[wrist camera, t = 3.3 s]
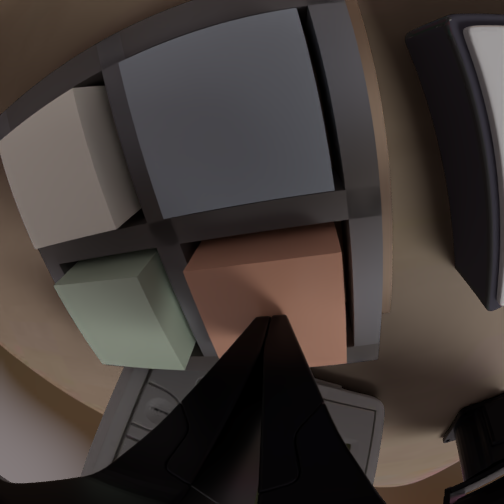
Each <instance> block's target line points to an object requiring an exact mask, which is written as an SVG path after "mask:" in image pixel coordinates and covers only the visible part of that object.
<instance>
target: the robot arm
mask: <svg viewBox="0 0 504 504" xmlns="http://www.w3.org/2000/svg"><path fill="white" fill-rule="evenodd" d="M181 403H182V404H181ZM181 403H179V404H178V405H177V406H176V407H175V408H174V409H173V410H172V411H171V412H170V413H169V414H168V415H167V416H166V417H165V418H164V419H163V420H162V421H161V422H160V423H159V424H158V425H157V426H156V427H155V428H154V429H153V430H151V431H150V432H149V433H148V434H147V435H146V436H145V437H143V438H142V439H141V440H140V441H139V442H137V443H136V444H135V445H134V446H132V447H131V448H130V449H129V450H127V451H126V452H125V453H124V454H122V455H121V456H120V457H118V458H117V459H116V460H115V461H113V462H112V463H111V464H109V465H108V466H107V467H105V468H103V469H102V470H100V471H98V472H96V473H93V474H90V475H87V476H82V477H77V478H70V479H63V480H55V481H46V482H36V483H11V482H9V481H8V480H6V479H5V478H3V477H2V476H0V504H254V503H255V498H256V494H257V489H258V493H259V495H258V503H257V504H386V502H385V501H384V500H383V499H382V497H381V496H380V495H379V493H378V492H377V491H376V489H375V488H374V486H373V485H372V483H371V482H370V480H369V479H368V477H367V476H366V474H365V473H364V471H363V470H362V468H361V467H360V465H359V464H358V462H357V461H356V459H355V458H354V456H353V455H352V453H351V452H350V450H349V449H348V447H347V445H346V444H345V442H344V440H343V439H342V437H341V435H340V433H339V432H338V430H337V428H336V426H335V423H334V421H333V419H332V417H331V415H330V413H329V410H328V408H327V406H326V404H325V403H324V399H323V397H322V395H321V392H320V390H319V388H318V385H317V383H316V381H315V379H314V376H313V374H312V372H311V369H310V367H309V365H308V363H307V360H306V358H305V356H304V353H303V351H302V349H301V347H300V344H299V342H298V340H297V337H296V335H295V333H294V331H293V328H292V326H291V324H290V322H289V319H288V317H287V315H285V314H283V315H273V316H272V317H270V316H260V317H256V318H255V319H254V320H253V321H252V322H251V323H250V324H249V326H248V327H247V328H246V329H245V330H244V331H243V333H242V334H241V335H240V336H239V337H238V338H237V339H236V341H235V342H234V343H233V344H232V345H231V346H230V347H229V349H228V350H227V351H226V352H225V353H224V354H223V355H222V357H221V358H220V359H219V360H218V361H217V362H216V363H215V364H214V366H213V367H212V368H211V369H210V370H209V371H208V372H207V373H206V374H205V376H204V377H203V378H202V379H201V380H200V381H199V382H198V383H197V384H196V385H195V386H194V388H193V389H192V390H191V391H190V392H189V393H188V394H187V395H186V396H185V397H184V398H183V399H182V401H181ZM454 440H456V444H457V449H458V454H459V459H460V464H461V469H462V474H463V481H464V482H462V483H460V484H458V485H455V486H453V487H449V488H447V489H445V496H444V502H443V504H504V476H503V477H501V478H499V479H497V480H496V481H494V482H492V483H490V484H488V485H486V486H484V487H482V488H480V489H478V490H476V491H474V492H472V493H470V494H467V495H465V493H467V492H469V491H471V490H473V489H475V488H478V487H479V486H482V485H484V484H485V483H488V482H489V481H491V480H493V479H495V478H497V477H499V476H500V475H502V474H504V394H503V395H500V396H498V397H495V398H492V399H490V400H487V401H484V402H481V403H478V404H475V405H472V406H469V407H466V408H464V409H462V410H461V411H460V412H459V414H458V416H457V417H456V419H455V420H454V422H453V424H452V425H451V427H450V428H449V430H448V432H447V433H446V435H445V436H444V438H443V443H447V442H450V441H454Z"/></svg>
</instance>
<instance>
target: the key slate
mask: <svg viewBox="0 0 504 504" xmlns="http://www.w3.org/2000/svg"><path fill="white" fill-rule="evenodd" d="M119 68H120V72H121V76H122V80H123V84H124V89H125V92H126V96H127V100H128V104H129V108H130V112H131V115H132V119H133V123H134V126H135V130H136V133H137V137H138V140H139V144H140V147H141V151H142V154H143V157H144V160H145V164H146V167H147V170H148V173H149V177H150V180H151V183H152V186H153V189H154V192H155V195H156V198H157V201H158V204H159V207H160V210H161V213H162V216H163V219H167V218H172V217H177V216H182V215H187V214H193V213H198V212H203V211H209V210H214V209H220V208H225V207H231V206H237V205H242V204H248V203H254V202H260V201H267V200H273V199H279V198H286V197H292V196H299V195H306V194H313V193H320V192H327V191H335V189H334V182H333V175H332V168H331V161H330V155H329V149H328V143H327V137H326V132H325V126H324V121H323V116H322V110H321V105H320V101H319V96H318V91H317V86H316V82H315V77H314V73H313V69H312V65H311V60H310V56H309V52H308V48H307V44H306V41H305V37H304V33H303V29H302V26H301V22H300V19H299V15H298V12H297V9H296V8H291V9H285V10H279V11H273V12H268V13H263V14H258V15H253V16H249V17H244V18H240V19H236V20H232V21H228V22H225V23H221V24H218V25H214V26H211V27H207V28H204V29H201V30H198V31H195V32H192V33H189V34H186V35H183V36H180V37H177V38H175V39H172V40H169V41H167V42H164V43H162V44H159V45H157V46H154V47H152V48H150V49H147V50H145V51H143V52H140V53H138V54H136V55H134V56H131V57H129V58H127V59H125V60H123V61H121V62H119Z"/></svg>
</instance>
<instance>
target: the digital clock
mask: <svg viewBox="0 0 504 504" xmlns="http://www.w3.org/2000/svg"><path fill="white" fill-rule="evenodd" d="M207 372H208V371H182V370H161V369H146V368H134V367H124V368H123V371H122V373H121V375H120V377H119V380H118V382H117V384H116V387H115V389H114V391H113V393H112V396H111V398H110V401H109V403H108V405H107V408H106V410H105V412H104V415H103V417H102V420H101V423H100V425H99V428H98V430H97V432H96V435H95V437H94V440H93V443H92V445H91V448H90V450H89V453H88V456H87V458H86V461H85V465H84V468H83V471H82V474H81V477H82V476H87V475H90V474H93V473H96V472H98V471H100V470H102V469H103V468H105V467H107V466H108V465H109V464H111V463H112V462H113V461H115V460H116V459H117V458H118V457H120V456H121V455H122V454H124V453H125V452H126V451H127V450H129V449H130V448H131V447H132V446H134V445H135V444H136V443H137V442H139V441H140V440H141V439H142V438H143V437H145V436H146V435H147V434H148V433H149V432H150V431H151V430H153V429H154V428H155V427H156V426H157V425H158V424H159V423H160V422H161V421H162V420H163V419H164V418H165V417H166V416H167V415H168V414H169V413H170V412H171V411H172V410H173V409H174V408H175V407H176V406H177V405H178V404H179V403H181V401H182V399H183V398H184V397H185V396H186V395H187V394H188V393H189V392H190V391H191V390H192V389H193V388H194V386H195V385H196V384H197V383H198V382H199V381H200V380H201V379H202V378H203V377H204V376H205V374H206V373H207ZM314 379H315V381H316V383H317V385H318V388H319V390H320V392H321V395H322V397H323V399H324V403H325V404H326V406H327V408H328V410H329V413H330V415H331V417H332V419H333V421H334V423H335V426H336V428H337V430H338V432H339V433H340V435H341V437H342V439H343V440H344V442H345V444H346V445H347V447H348V449H349V450H350V452H351V453H352V455H353V456H354V458H355V459H356V461H357V462H358V464H359V465H360V467H361V468H362V470H363V471H364V473H365V474H366V476H367V477H368V479H369V480H370V482H371V483H372V485H373V482H374V477H375V473H376V468H377V462H378V457H379V451H380V445H381V439H382V432H383V425H384V406H383V403H382V402H381V401H380V400H379V399H377V398H376V397H373V396H370V395H365V394H361V393H357V392H353V391H349V390H345V389H342V386H341V385H337V384H333V383H330V382H326V381H323V380H319V379H316V378H314ZM181 404H182V403H181ZM258 495H259V493H258V489H257V494H256V498H255V503H254V504H257V503H258Z"/></svg>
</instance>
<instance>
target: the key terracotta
mask: <svg viewBox="0 0 504 504" xmlns="http://www.w3.org/2000/svg"><path fill="white" fill-rule="evenodd" d="M183 273H184V276H185V278H186V281H187V284H188V286H189V289H190V291H191V294H192V296H193V299H194V301H195V304H196V306H197V308H198V311H199V313H200V316H201V318H202V320H203V323H204V325H205V328H206V330H207V332H208V335H209V337H210V339H211V341H212V344H213V346H214V348H215V351H216V353H217V355H218V357H219V359H220V358H221V357H222V355H223V354H224V353H225V352H226V351H227V350H228V349H229V347H230V346H231V345H232V344H233V343H234V342H235V341H236V339H237V338H238V337H239V336H240V335H241V334H242V333H243V331H244V330H245V329H246V328H247V327H248V326H249V324H250V323H251V322H252V321H253V320H254V319H255V318H256V317H260V316H270V317H272V316H273V315H283V314H285V315H287V317H288V319H289V322H290V324H291V326H292V328H293V331H294V333H295V335H296V337H297V340H298V342H299V344H300V347H301V349H302V351H303V353H304V356H305V358H306V360H307V363H308V365H309V367H317V366H327V365H336V364H345V363H347V343H346V312H345V293H344V277H343V264H342V252H341V248H340V244H339V240H338V236H337V232H336V228H335V224H334V222H326V223H319V224H311V225H304V226H297V227H290V228H283V229H276V230H269V231H262V232H255V233H248V234H241V235H234V236H228V237H221V238H214V239H208V240H202V241H201V243H200V244H199V246H198V248H197V249H196V251H195V253H194V254H193V256H192V257H191V259H190V261H189V262H188V264H187V266H186V267H185V269H184V271H183Z"/></svg>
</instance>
